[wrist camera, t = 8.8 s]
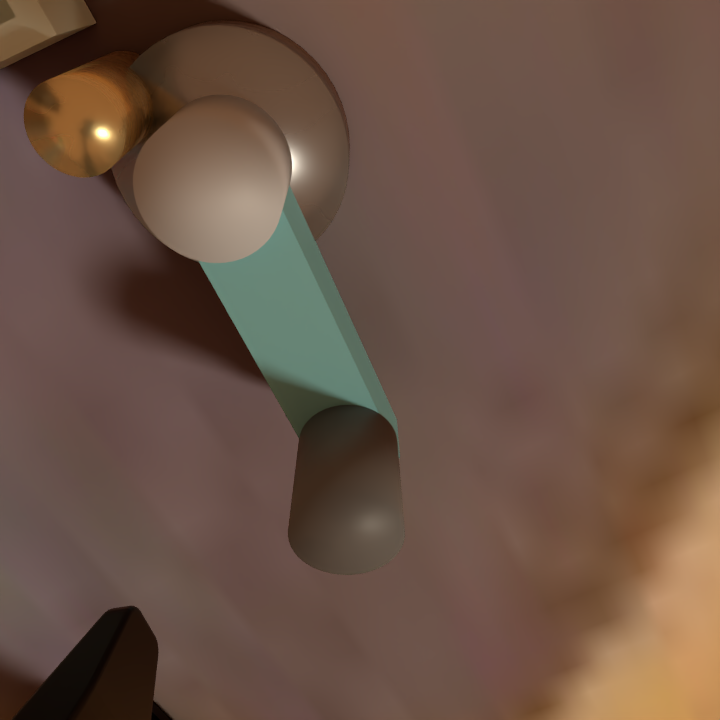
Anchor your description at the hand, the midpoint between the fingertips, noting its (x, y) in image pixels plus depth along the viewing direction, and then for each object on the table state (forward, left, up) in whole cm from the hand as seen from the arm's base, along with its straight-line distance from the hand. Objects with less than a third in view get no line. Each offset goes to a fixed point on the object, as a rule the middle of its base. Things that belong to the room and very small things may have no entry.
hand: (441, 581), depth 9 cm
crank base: (-3, +5, -12) cm, 13 cm away
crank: (-3, +1, -10) cm, 10 cm away
